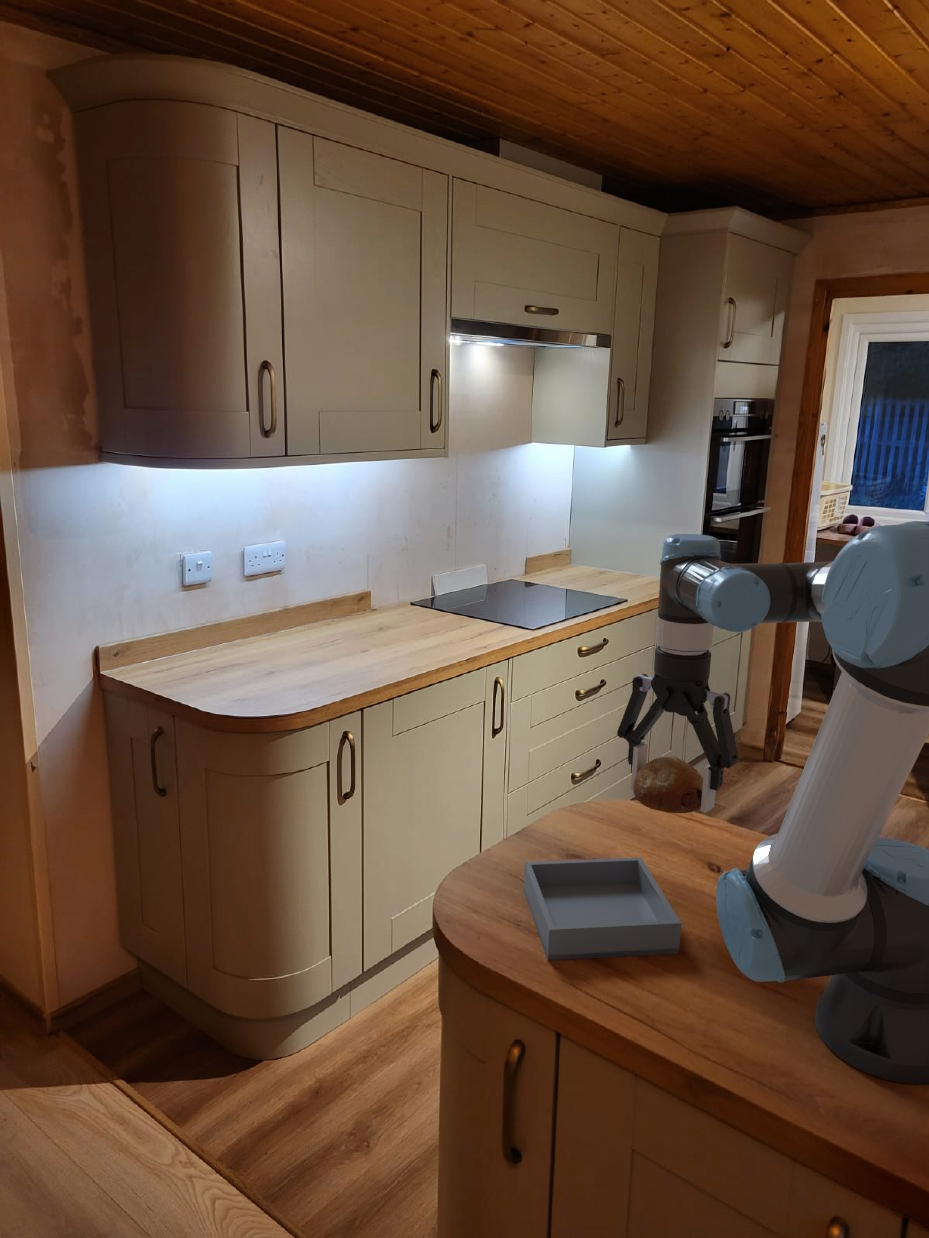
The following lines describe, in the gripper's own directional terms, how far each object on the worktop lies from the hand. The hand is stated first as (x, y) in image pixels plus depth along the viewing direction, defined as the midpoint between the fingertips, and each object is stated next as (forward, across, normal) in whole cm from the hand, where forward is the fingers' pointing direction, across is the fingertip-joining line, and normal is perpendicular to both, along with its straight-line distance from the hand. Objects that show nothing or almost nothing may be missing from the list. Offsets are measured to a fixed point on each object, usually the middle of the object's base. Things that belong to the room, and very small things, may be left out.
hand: (671, 797), depth 133 cm
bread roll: (+1, 0, 0) cm, 1 cm away
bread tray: (+16, +4, +12) cm, 20 cm away
